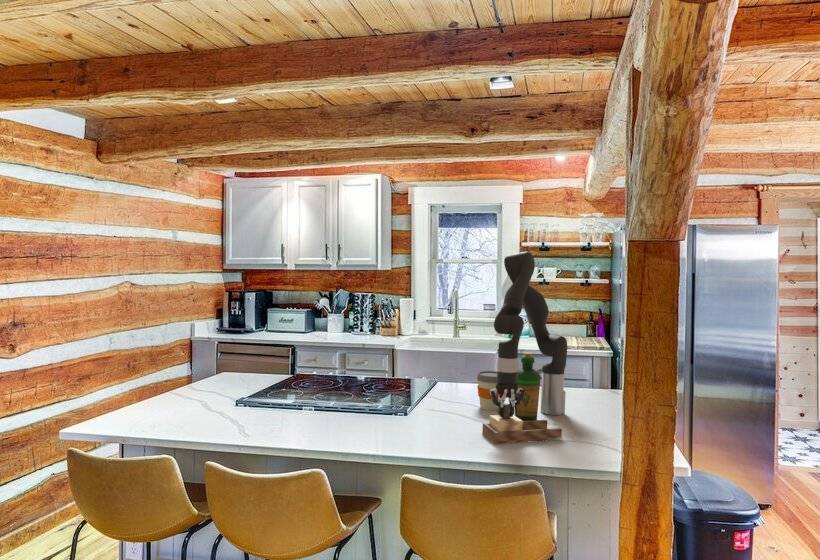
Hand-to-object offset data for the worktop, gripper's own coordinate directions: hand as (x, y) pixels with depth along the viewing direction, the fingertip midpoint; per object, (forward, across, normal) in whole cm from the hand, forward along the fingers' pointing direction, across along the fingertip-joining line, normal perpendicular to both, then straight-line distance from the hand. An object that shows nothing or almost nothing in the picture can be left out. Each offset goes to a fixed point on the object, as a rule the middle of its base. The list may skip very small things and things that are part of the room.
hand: (505, 416), depth 218 cm
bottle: (+8, -16, -17) cm, 25 cm away
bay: (+8, -6, 0) cm, 10 cm away
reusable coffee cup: (+8, -12, -41) cm, 43 cm away
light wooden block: (+7, 0, 0) cm, 7 cm away
